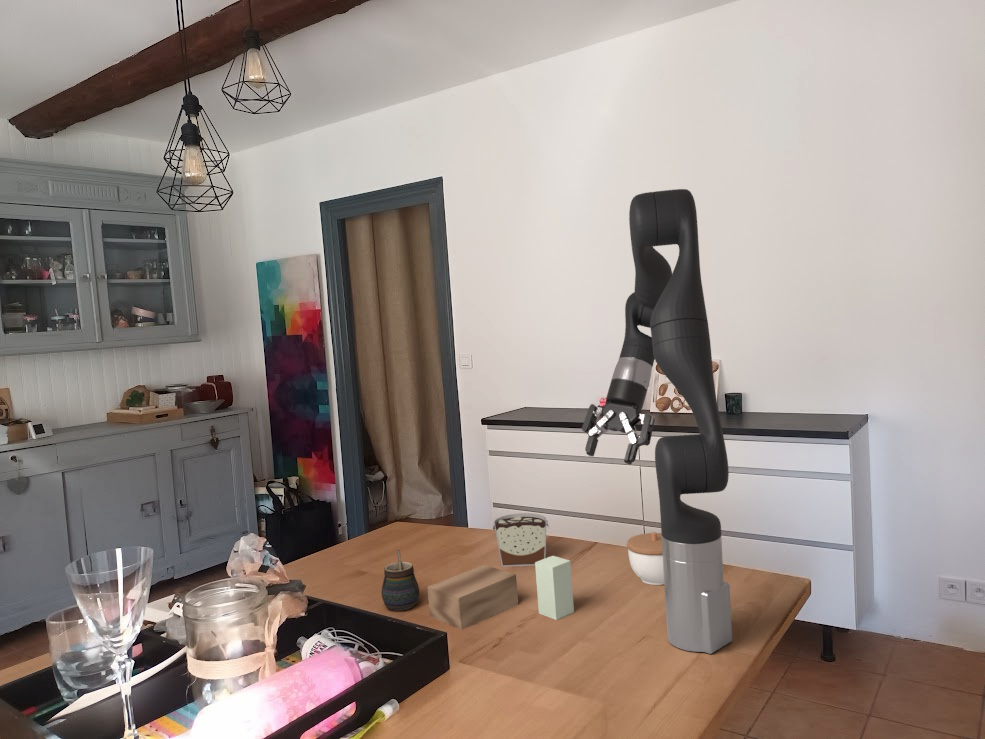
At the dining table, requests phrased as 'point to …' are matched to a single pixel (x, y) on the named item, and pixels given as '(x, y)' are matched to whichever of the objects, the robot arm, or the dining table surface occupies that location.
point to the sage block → (554, 587)
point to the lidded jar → (647, 557)
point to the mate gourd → (400, 586)
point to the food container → (521, 538)
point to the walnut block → (472, 596)
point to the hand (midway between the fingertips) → (608, 459)
